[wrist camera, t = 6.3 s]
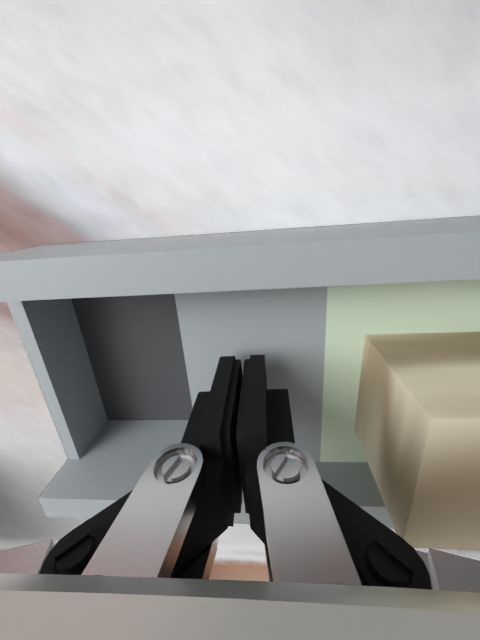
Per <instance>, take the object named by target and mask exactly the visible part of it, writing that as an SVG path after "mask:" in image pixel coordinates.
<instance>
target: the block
mask: <svg viewBox="0 0 480 640" xmlns="http://www.w3.org/2000/svg"><path fill="white" fill-rule="evenodd" d="M354 431H355V433H356V435H357V438H358V440H359V443H360V445H361V448H362V450H363V453H364V455H365V457H366V460H367V462H368V465H369V467H370V470H371V472H372V475H373V477H374V480H375V482H376V484H377V487H378V489H379V492H380V494H381V497H382V499H383V502H384V504H385V506H386V509H387V511H388V514H389V516H390V519H391V521H392V524H393V526H394V529H395V531H396V533H397V535H399V536H400V537H402V538H403V539H404V540H405V541H406V542H407V543H409V544H410V545H411V546H412V547H413V548H437V549H460V550H480V332H447V333H407V334H367V335H365V336H364V345H363V355H362V364H361V373H360V383H359V392H358V401H357V411H356V420H355V430H354Z"/></svg>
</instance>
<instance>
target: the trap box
mask: <svg viewBox="0 0 480 640" xmlns="http://www.w3.org/2000/svg"><path fill="white" fill-rule="evenodd" d="M0 302H7V304H8V306H9V309H10V311H11V314H12V316H13V319H14V322H15V324H16V327H17V329H18V332H19V335H20V337H21V340H22V342H23V345H24V347H25V350H26V353H27V355H28V358H29V360H30V363H31V365H32V368H33V371H34V373H35V376H36V378H37V381H38V383H39V386H40V389H41V391H42V394H43V396H44V399H45V402H46V404H47V407H48V409H49V412H50V414H51V417H52V420H53V422H54V425H55V427H56V430H57V432H58V435H59V438H60V440H61V443H62V445H63V448H64V451H65V453H66V456H67V458H68V460H67V461H66V462H65V463H64V465H63V466H62V467H61V469H60V470H59V471H58V472H57V474H56V475H55V476H54V478H53V479H52V480H51V482H50V483H49V484H48V485H47V487H46V488H45V489H44V491H43V492H42V493H41V494H40V496H39V497H38V500H39V502H40V504H41V507H42V509H43V511H44V513H45V515H46V517H48V518H79V519H90V518H91V517H93V516H94V515H96V514H97V513H99V512H100V511H102V510H103V509H105V508H106V507H108V506H109V505H111V504H112V503H114V502H115V501H117V500H118V499H120V498H121V497H123V496H124V495H126V494H127V493H129V492H130V491H132V490H133V489H134V488H135V486H136V485H137V483H138V481H139V480H140V478H141V476H142V475H143V473H144V471H145V470H146V468H147V467H148V465H149V463H150V462H151V460H152V459H153V458H154V457H155V455H156V454H158V453H159V452H160V451H161V450H163V449H165V448H167V447H169V446H171V445H174V444H178V443H181V441H182V438H183V435H184V432H185V429H186V426H187V423H188V421H189V418H190V415H191V412H192V409H193V406H194V403H195V400H196V398H197V395H198V393H199V392H203V391H210V390H211V386H212V383H213V379H214V376H215V372H216V369H217V365H218V362H219V358H220V357H221V356H235V358H236V360H237V359H240V360H241V366H242V375H243V369H244V360H245V359H250V355H263V354H265V365H266V379H267V389H288V394H289V402H290V409H291V417H292V424H293V431H294V439H295V444H298V445H300V446H301V447H303V448H305V449H306V450H307V451H308V452H309V453H310V454H311V456H312V458H313V460H314V462H315V465H316V467H317V470H318V472H319V475H320V477H321V479H322V480H324V481H325V482H326V483H328V484H329V485H331V486H332V487H333V488H335V489H336V490H337V491H339V492H340V493H341V494H343V495H344V496H346V497H347V498H348V499H350V500H351V501H352V502H354V503H355V504H356V505H358V506H359V507H361V508H362V509H363V510H365V511H366V512H367V513H369V514H370V515H372V516H373V517H374V518H376V519H377V520H378V521H380V522H381V523H382V524H384V525H385V526H387V527H388V528H394V526H393V524H392V521H391V519H390V516H389V514H388V511H387V509H386V506H385V504H384V502H383V499H382V497H381V494H380V492H379V489H378V487H377V484H376V482H375V480H374V477H373V475H372V472H371V470H370V467H369V465H368V462H367V460H366V457H365V455H364V453H363V450H362V448H361V445H360V443H359V440H358V438H357V435H356V433H355V431H354V430H355V420H356V411H357V401H358V392H359V383H360V373H361V364H362V355H363V345H364V336H365V335H367V334H407V333H447V332H480V216H468V217H453V218H438V219H423V220H408V221H394V222H379V223H364V224H349V225H334V226H320V227H305V228H290V229H275V230H260V231H246V232H231V233H216V234H201V235H187V236H172V237H157V238H142V239H127V240H113V241H98V242H83V243H68V244H53V245H44V246H38V247H33V248H27V249H21V250H16V251H10V252H4V253H0ZM234 523H237V524H250V518H249V513H246V511H245V504H244V496H243V490H242V504H241V513H234Z"/></svg>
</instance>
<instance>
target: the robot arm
mask: <svg viewBox="0 0 480 640" xmlns="http://www.w3.org/2000/svg"><path fill="white" fill-rule="evenodd" d="M242 490H243V496H244V504H245V511H246V513H249V518H250V526H251V529H252V530H253V531H254V533H255V534H256V535H257V536H258V537H259V538H260V539H261V540H262V542H263V543H264V545H265V554H266V561H267V568H268V575H269V582H261V581H234V580H209V577H210V573H211V569H212V566H213V562H214V558H215V555H216V551H217V545H218V537H219V536H220V535H221V534H222V533H223V532H224V531H225V530H226V529H227V528H228V526H233V523H234V513H241V504H242ZM0 640H480V561H477V560H474V559H470V558H466V557H462V556H458V555H454V554H450V553H446V552H442V551H438V550H434V549H430V548H429V553H425V552H421V551H417V550H415V549H414V548H413V547H412V546H411V545H410V544H409V543H407V542H406V541H405V540H404V539H403V538H402V537H400V536H399V535H397V534H396V533H395V532H393V531H392V530H391V529H389V528H388V527H387V526H385V525H384V524H382V523H381V522H380V521H378V520H377V519H376V518H374V517H373V516H372V515H370V514H369V513H367V512H366V511H365V510H363V509H362V508H361V507H359V506H358V505H356V504H355V503H354V502H352V501H351V500H350V499H348V498H347V497H346V496H344V495H343V494H341V493H340V492H339V491H337V490H336V489H335V488H333V487H332V486H331V485H329V484H328V483H326V482H325V481H324V480H322V479H321V477H320V475H319V472H318V470H317V467H316V465H315V462H314V460H313V458H312V456H311V454H310V453H309V452H308V451H307V450H306V449H305V448H303V447H301V446H300V445H298V444H295V439H294V431H293V424H292V417H291V409H290V402H289V394H288V389H267V379H266V365H265V354H263V355H250V359H245V360H244V369H243V375H242V366H241V360H240V359H237V360H236V358H235V356H221V357H220V358H219V362H218V365H217V369H216V372H215V376H214V379H213V383H212V386H211V390H210V391H203V392H199V393H198V395H197V398H196V400H195V403H194V406H193V409H192V412H191V415H190V418H189V421H188V423H187V426H186V429H185V432H184V435H183V438H182V441H181V443H178V444H174V445H171V446H169V447H167V448H165V449H163V450H161V451H160V452H159V453H158V454H156V455H155V457H154V458H153V459H152V460H151V462H150V463H149V465H148V467H147V468H146V470H145V471H144V473H143V475H142V476H141V478H140V480H139V481H138V483H137V485H136V486H135V488H134V489H133V490H132V491H130V492H129V493H127V494H126V495H124V496H123V497H121V498H120V499H118V500H117V501H115V502H114V503H112V504H111V505H109V506H108V507H106V508H105V509H103V510H102V511H100V512H99V513H97V514H96V515H94V516H93V517H91V518H90V519H89V520H87V521H86V522H84V523H83V524H81V525H80V526H78V527H77V528H75V529H74V530H72V531H71V532H69V533H68V534H67V535H65V536H64V537H63V538H62V539H60V540H59V541H58V543H57V544H53V542H52V540H48V541H44V542H39V543H35V544H30V545H26V546H22V547H17V548H13V549H8V550H4V551H0Z"/></svg>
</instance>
